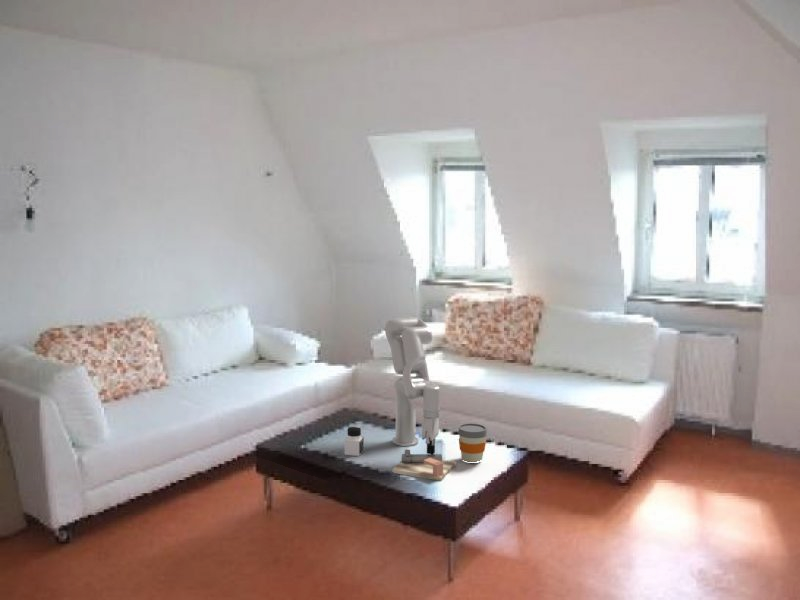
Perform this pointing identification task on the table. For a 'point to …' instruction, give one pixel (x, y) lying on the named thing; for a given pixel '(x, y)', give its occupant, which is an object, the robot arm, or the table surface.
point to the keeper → (435, 466)
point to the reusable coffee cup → (472, 441)
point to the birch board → (422, 469)
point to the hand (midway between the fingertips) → (430, 453)
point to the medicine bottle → (354, 441)
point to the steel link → (420, 457)
